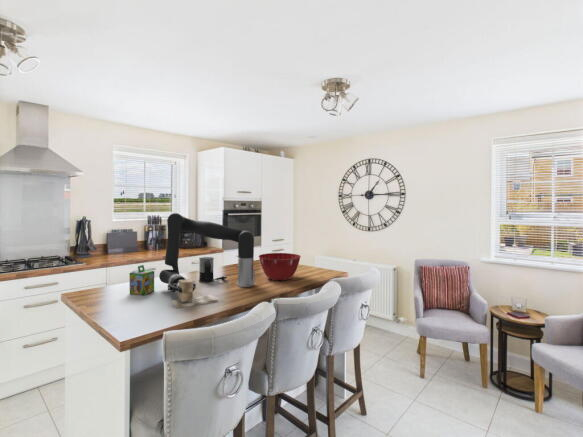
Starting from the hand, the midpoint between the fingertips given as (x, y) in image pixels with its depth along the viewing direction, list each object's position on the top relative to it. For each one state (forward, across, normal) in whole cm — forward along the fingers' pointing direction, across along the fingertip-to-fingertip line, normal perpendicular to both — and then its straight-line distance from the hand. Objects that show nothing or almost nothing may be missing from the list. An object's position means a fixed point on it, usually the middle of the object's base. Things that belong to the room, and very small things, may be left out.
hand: (187, 290), depth 148 cm
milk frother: (-39, +28, +8) cm, 48 cm away
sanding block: (-3, 0, +6) cm, 7 cm away
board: (-3, +5, +7) cm, 9 cm away
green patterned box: (-33, -14, +8) cm, 37 cm away
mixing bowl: (-24, +69, +8) cm, 73 cm away
